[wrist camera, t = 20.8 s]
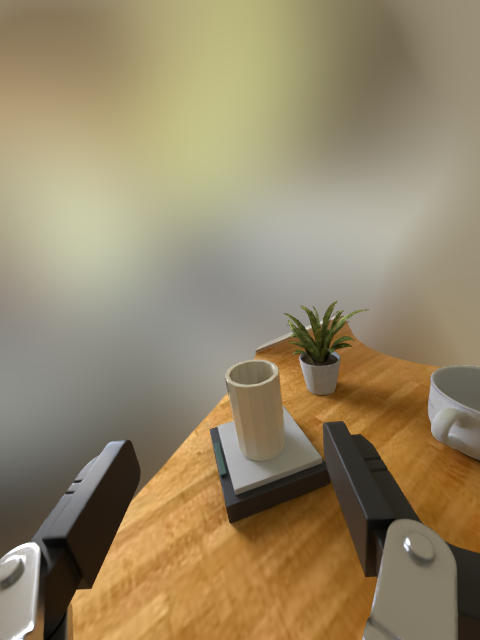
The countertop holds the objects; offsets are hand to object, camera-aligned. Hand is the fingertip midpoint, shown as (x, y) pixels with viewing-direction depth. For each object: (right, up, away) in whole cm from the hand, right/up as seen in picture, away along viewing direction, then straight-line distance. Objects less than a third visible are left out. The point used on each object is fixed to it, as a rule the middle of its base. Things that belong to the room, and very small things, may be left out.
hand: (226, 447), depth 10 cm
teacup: (+29, -10, +20) cm, 36 cm away
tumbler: (+3, -10, +21) cm, 24 cm away
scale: (+4, -13, +22) cm, 26 cm away
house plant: (+17, -7, +36) cm, 41 cm away
